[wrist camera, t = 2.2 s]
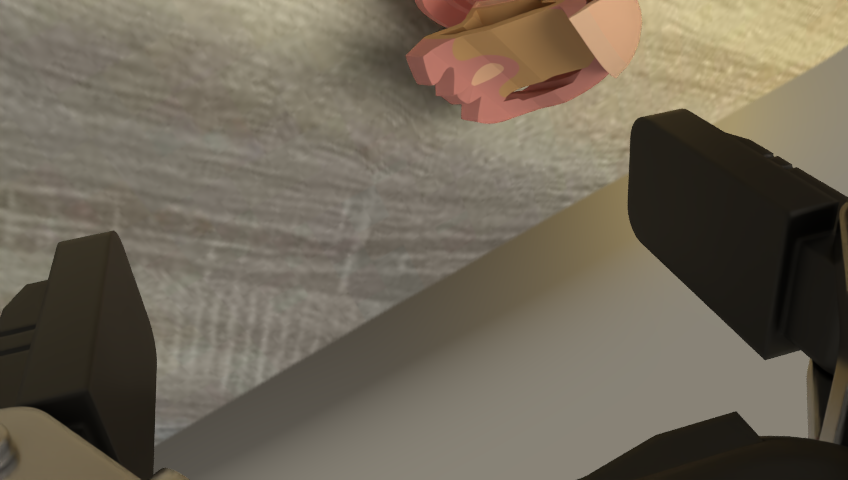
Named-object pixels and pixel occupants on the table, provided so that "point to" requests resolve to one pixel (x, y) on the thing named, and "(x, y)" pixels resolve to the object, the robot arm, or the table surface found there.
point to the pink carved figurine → (522, 52)
